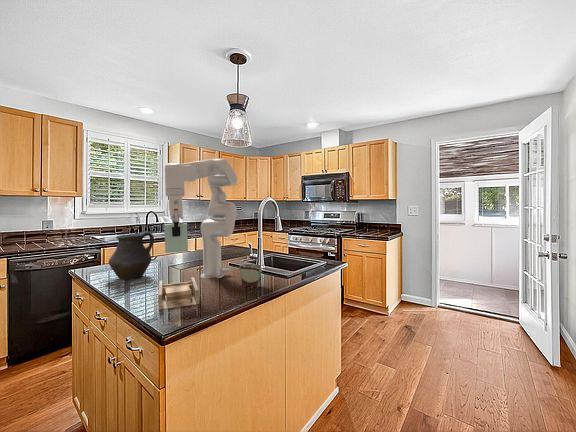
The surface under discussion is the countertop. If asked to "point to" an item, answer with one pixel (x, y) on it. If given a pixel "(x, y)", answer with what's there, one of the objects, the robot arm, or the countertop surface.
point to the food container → (250, 275)
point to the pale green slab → (176, 239)
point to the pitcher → (131, 256)
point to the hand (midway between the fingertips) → (176, 235)
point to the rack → (191, 285)
